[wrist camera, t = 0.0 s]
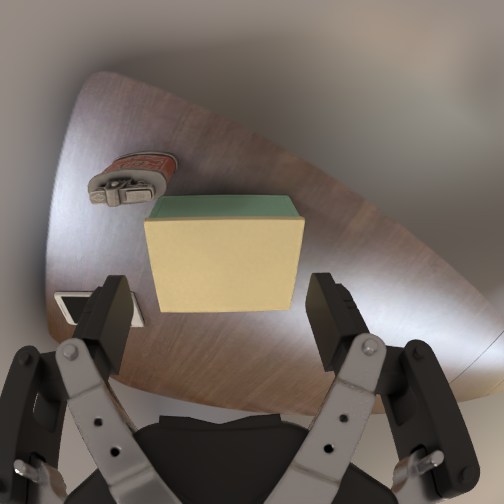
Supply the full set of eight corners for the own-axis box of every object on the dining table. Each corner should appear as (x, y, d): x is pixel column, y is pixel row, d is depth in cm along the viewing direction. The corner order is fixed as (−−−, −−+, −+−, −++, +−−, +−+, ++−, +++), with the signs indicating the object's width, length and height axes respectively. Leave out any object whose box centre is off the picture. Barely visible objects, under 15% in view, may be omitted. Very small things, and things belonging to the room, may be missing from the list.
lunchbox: (159, 196, 32) (146, 222, 26) (288, 195, 33) (302, 220, 28) (169, 273, 38) (161, 307, 32) (279, 271, 40) (288, 304, 34)
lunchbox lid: (145, 217, 26) (143, 221, 25) (303, 216, 27) (305, 219, 27) (161, 307, 32) (161, 312, 32) (288, 305, 34) (290, 309, 33)
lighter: (115, 181, 30) (80, 218, 22) (112, 154, 28) (73, 183, 20) (178, 177, 31) (162, 214, 22) (177, 149, 29) (159, 176, 21)
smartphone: (144, 323, 43) (143, 327, 42) (70, 320, 42) (68, 324, 41) (133, 291, 39) (132, 295, 38) (55, 291, 38) (53, 295, 37)
